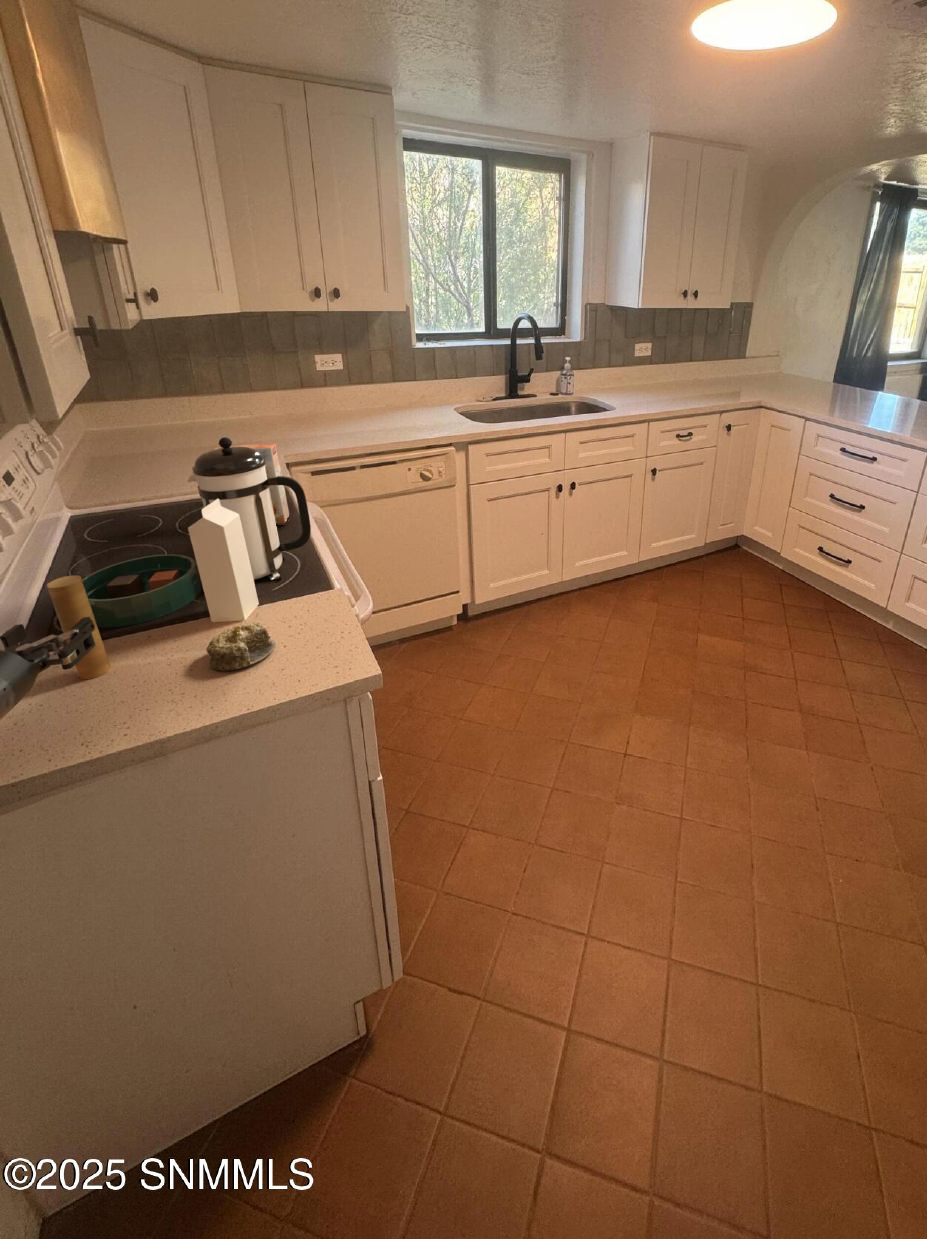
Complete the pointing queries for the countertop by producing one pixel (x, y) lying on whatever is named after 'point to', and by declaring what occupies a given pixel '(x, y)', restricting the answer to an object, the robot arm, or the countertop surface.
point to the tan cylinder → (70, 611)
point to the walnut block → (125, 586)
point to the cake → (240, 647)
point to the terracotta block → (163, 579)
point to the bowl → (150, 601)
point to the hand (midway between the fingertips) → (56, 626)
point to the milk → (223, 564)
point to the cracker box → (273, 471)
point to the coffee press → (249, 502)
